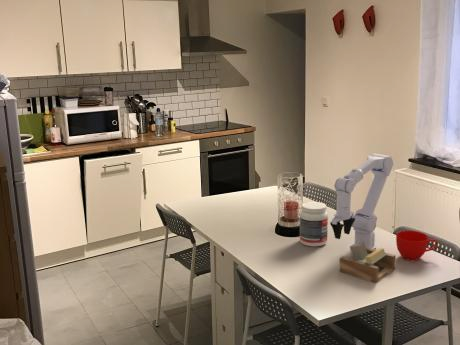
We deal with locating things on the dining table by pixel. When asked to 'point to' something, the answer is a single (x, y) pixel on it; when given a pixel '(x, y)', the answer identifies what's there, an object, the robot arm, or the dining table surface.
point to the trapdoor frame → (368, 267)
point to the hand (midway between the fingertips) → (342, 236)
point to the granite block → (358, 251)
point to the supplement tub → (313, 224)
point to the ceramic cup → (413, 244)
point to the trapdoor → (374, 256)
